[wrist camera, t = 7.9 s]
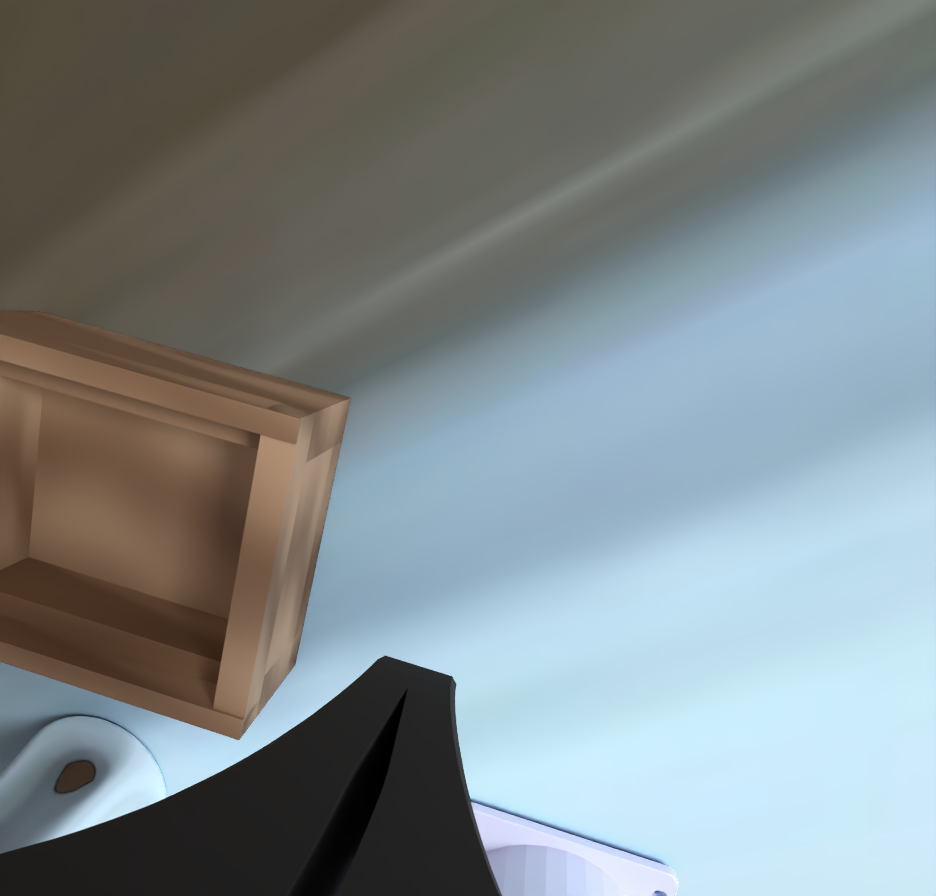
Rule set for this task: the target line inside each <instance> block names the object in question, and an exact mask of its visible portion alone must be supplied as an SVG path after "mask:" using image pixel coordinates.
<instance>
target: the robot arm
mask: <svg viewBox="0 0 936 896" xmlns="http://www.w3.org/2000/svg"><path fill="white" fill-rule="evenodd" d="M455 689H456V683H455V681H454V679H453V677H452V676H449V675H446V674H443V673H439V672H436V671H433V670H430V669H426V668H423V667H420V666H417V665H414V664H410V663H407V662H404V661H401V660H398V659H394V658H391V657H388V656H384V657H382V658H380V659H378V660H377V661H376V662H375V663H374V664H373V665H372V666H371V667H370V668H369V669H368V670H366V671H365V672H364V673H363V674H362V675H361V676H360V677H359V678H358V679H356V680H355V681H354V682H353V683H352V684H351V685H349V686H348V687H347V688H346V689H345V690H343V691H342V692H341V693H340V694H339V695H337V696H336V697H335V698H333V699H332V700H331V701H329V702H328V703H327V704H326V705H324V706H323V707H322V708H320V709H319V710H318V711H317V712H315V713H314V714H313V715H311V716H310V717H308V718H307V719H306V720H304V721H303V722H301V723H300V724H298V725H297V726H295V727H294V728H292V729H291V730H289V731H288V732H286V733H285V734H283V735H282V736H280V737H279V738H277V739H276V740H274V741H273V742H271V743H270V744H268V745H267V746H265V747H263V748H262V749H260V750H258V751H257V752H255V753H253V754H252V755H250V756H248V757H246V758H245V759H243V760H241V761H239V762H238V763H236V764H234V765H232V766H230V767H228V768H227V769H225V770H223V771H221V772H219V773H217V774H215V775H213V776H211V777H209V778H207V779H205V780H203V781H201V782H199V783H197V784H195V785H193V786H191V787H188V788H186V789H184V790H182V791H180V792H178V793H176V794H174V795H171V796H169V797H167V798H165V799H162V800H160V801H158V802H156V803H153V804H151V805H148V806H146V807H143V808H141V809H138V810H136V811H133V812H130V813H128V814H125V815H122V816H120V817H117V818H114V819H112V820H109V821H106V822H103V823H100V824H97V825H94V826H91V827H89V828H86V829H83V830H80V831H77V832H74V833H70V834H67V835H64V836H61V837H58V838H55V839H51V840H47V841H44V842H40V843H37V844H33V845H30V846H26V847H22V848H19V849H15V850H12V851H8V852H5V853H1V854H0V896H675V895H676V893H677V891H678V886H679V883H678V878H677V875H676V872H675V871H674V870H673V869H672V868H670V867H669V866H666V865H663V864H660V863H657V862H654V861H651V860H648V859H645V858H642V857H639V856H636V855H633V854H630V853H627V852H624V851H620V850H617V849H614V848H611V847H608V846H605V845H602V844H599V843H596V842H593V841H590V840H587V839H584V838H581V837H578V836H575V835H572V834H568V833H565V832H562V831H559V830H556V829H553V828H550V827H547V826H544V825H541V824H538V823H535V822H532V821H529V820H526V819H523V818H519V817H516V816H513V815H510V814H507V813H504V812H501V811H498V810H495V809H492V808H489V807H486V806H483V805H480V804H477V803H473V802H471V800H470V796H469V792H468V789H467V784H466V780H465V775H464V770H463V765H462V759H461V753H460V748H459V742H458V734H457V726H456V715H455ZM657 890H659V891H663V892H661V893H655V892H654V891H657Z"/></svg>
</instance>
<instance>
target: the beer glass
mask: <svg viewBox="0 0 936 896" xmlns="http://www.w3.org/2000/svg"><path fill="white" fill-rule="evenodd" d="M165 798H166V788H165V783H164V779H163V776H162V773H161V771H160V768H159V766H158V764H157V763H156V761H155V759H154V758H153V756H152V755H151V753H150V752H149V751H148V750H147V748H146V747H145V746H144V745H143V744H142V743H141V742H140V741H139V740H138V739H137V738H136V737H134V736H133V735H132V734H131V733H129V732H128V731H126V730H125V729H123V728H121V727H119V726H118V725H116V724H113V723H111V722H109V721H106V720H103V719H99V718H95V717H89V716H70V717H65V718H61V719H58V720H56V721H54V722H52V723H50V724H48V725H46V726H45V727H43V728H42V729H41V730H40V731H39V732H38V733H37V734H36V735H34V737H33V738H32V739H31V740H30V741H29V742H28V743H27V744H26V746H25V747H24V748H23V749H22V750H21V751H20V753H19V754H18V755H17V756H16V757H15V759H14V760H13V761H12V762H11V763H10V764H9V766H8V767H7V768H6V769H5V770H4V771H3V772H2V773H1V774H0V854H1V853H5V852H8V851H12V850H15V849H19V848H22V847H26V846H30V845H33V844H37V843H40V842H44V841H47V840H51V839H55V838H58V837H61V836H64V835H67V834H70V833H74V832H77V831H80V830H83V829H86V828H89V827H91V826H94V825H97V824H100V823H103V822H106V821H109V820H112V819H114V818H117V817H120V816H122V815H125V814H128V813H130V812H133V811H136V810H138V809H141V808H143V807H146V806H148V805H151V804H153V803H156V802H158V801H160V800H162V799H165Z"/></svg>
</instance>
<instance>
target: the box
mask: <svg viewBox="0 0 936 896" xmlns="http://www.w3.org/2000/svg"><path fill="white" fill-rule="evenodd" d="M350 399H351V398H349V397H345V396H342V395H338V394H335V393H331V392H328V391H324V390H320V389H317V388H313V387H310V386H306V385H302V384H299V383H295V382H292V381H288V380H284V379H281V378H277V377H274V376H270V375H266V374H263V373H259V372H256V371H252V370H248V369H245V368H241V367H238V366H234V365H230V364H227V363H223V362H220V361H216V360H212V359H209V358H205V357H202V356H198V355H194V354H191V353H187V352H184V351H180V350H176V349H173V348H169V347H166V346H162V345H158V344H155V343H151V342H148V341H144V340H140V339H137V338H133V337H130V336H126V335H123V334H119V333H115V332H112V331H108V330H105V329H101V328H97V327H94V326H90V325H87V324H83V323H79V322H76V321H72V320H69V319H65V318H61V317H58V316H54V315H51V314H47V313H43V312H0V662H3V663H6V664H9V665H12V666H15V667H18V668H21V669H24V670H27V671H30V672H33V673H36V674H39V675H42V676H45V677H48V678H51V679H55V680H58V681H61V682H64V683H67V684H70V685H73V686H76V687H79V688H82V689H85V690H88V691H91V692H94V693H97V694H100V695H103V696H106V697H109V698H112V699H115V700H118V701H121V702H124V703H128V704H131V705H134V706H137V707H140V708H143V709H146V710H149V711H152V712H155V713H158V714H161V715H164V716H167V717H170V718H173V719H176V720H179V721H182V722H185V723H188V724H191V725H194V726H198V727H201V728H204V729H207V730H210V731H213V732H216V733H219V734H222V735H225V736H228V737H231V738H234V739H237V740H240V738H241V737H242V736H243V734H244V733H245V731H246V730H247V729H248V727H249V726H250V725H251V723H252V722H253V721H254V719H255V718H256V717H257V715H258V714H259V713H260V711H261V710H262V709H263V707H264V706H265V705H266V703H267V702H268V701H269V699H270V698H271V697H272V695H273V694H274V693H275V691H276V690H277V689H278V687H279V686H280V685H281V683H282V682H283V680H284V679H285V678H286V676H287V675H288V674H289V672H290V671H291V670H292V668H293V667H294V666H295V663H296V659H297V654H298V649H299V644H300V639H301V635H302V630H303V625H304V620H305V615H306V610H307V606H308V601H309V596H310V591H311V586H312V582H313V577H314V572H315V567H316V562H317V558H318V553H319V548H320V543H321V538H322V534H323V529H324V524H325V519H326V514H327V509H328V505H329V500H330V495H331V490H332V485H333V481H334V476H335V471H336V466H337V461H338V457H339V452H340V447H341V442H342V437H343V433H344V428H345V423H346V418H347V413H348V408H349V404H350Z"/></svg>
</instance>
